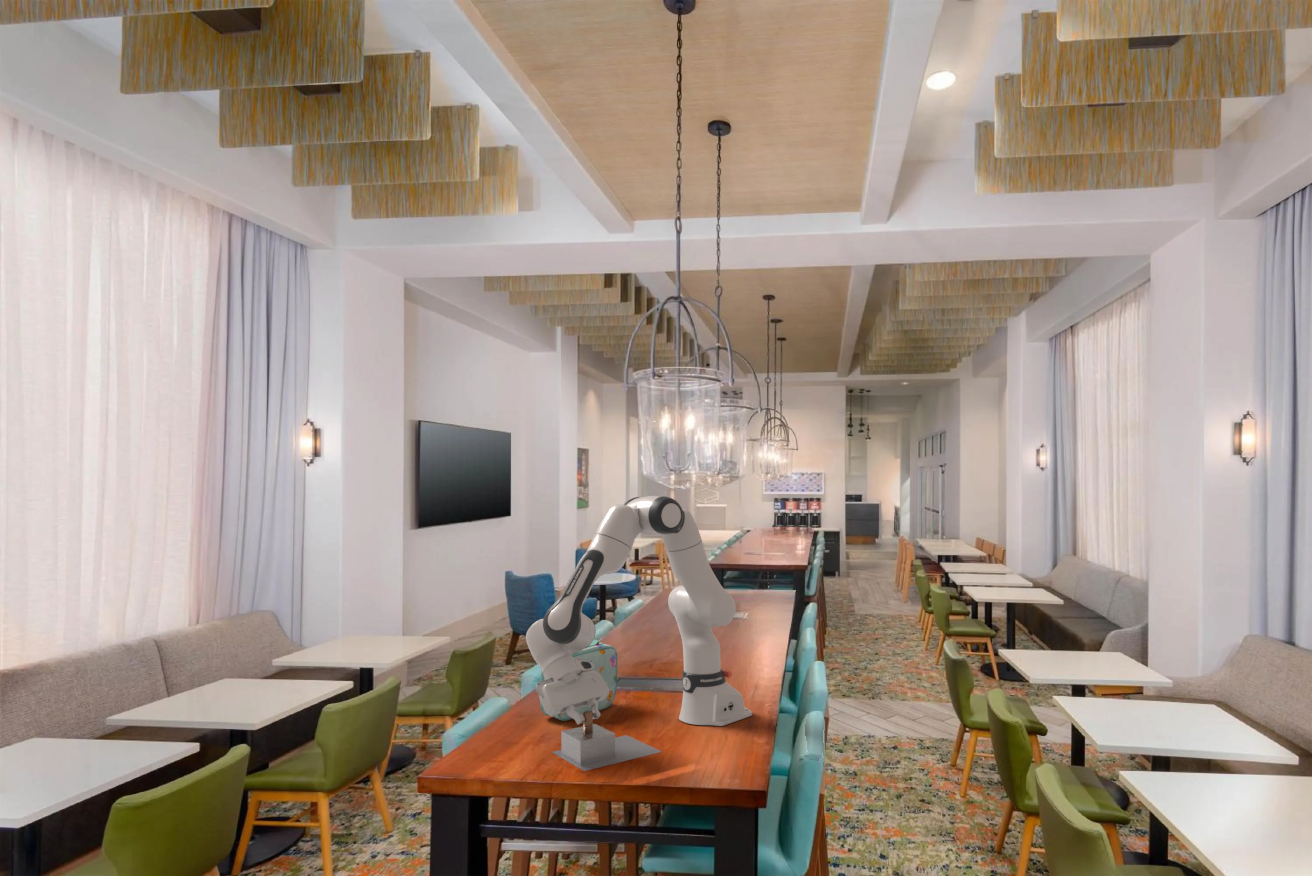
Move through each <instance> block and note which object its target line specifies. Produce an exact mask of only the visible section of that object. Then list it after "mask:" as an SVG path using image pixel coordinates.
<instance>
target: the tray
mask: <svg viewBox="0 0 1312 876" xmlns="http://www.w3.org/2000/svg"><path fill="white" fill-rule="evenodd" d="M662 752H663V751H661V750H659V749H657V748H655V747H653V746H651V745H650V744H649V745H648V744H646V743H645V742H642V741H640V740H638V739H636V738H634V737H632V736H629V735H626V734H625V735H621V736H615V758H612V759H607V760H603V761H599V762H595V763H591V764H587V765H583V766H580V765H578V764H576V763H575V762H573V761H571V760H569V759H568V758H566V757H564V756H563V755H562V754H561V749H560V750H554V751H551V753H553V754H554V755H556V756H557V757H559V758H561V759H562V760H565V761H566V762H568V763H569V764H571V765H573V766H574V767H576V768H578V769H579V770H582V771H583V772H586V771H591V770H595V769H599V768H602V767H607V766H610V765H615V764H619V763H622V762H628V761H630V760H631V761H632V760H635V759H639V758H643V757H647V756H651V755H655V754H660V753H662Z"/></svg>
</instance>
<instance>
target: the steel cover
mask: <svg viewBox="0 0 1312 876" xmlns="http://www.w3.org/2000/svg"><path fill="white" fill-rule="evenodd" d="M583 717H584V718H585V721H584V722H583V723H582V726H579V727H574V728H569V729H565V730H561V733H560V734H561V737H560V738H561V739H560V741H561V744H560V746H561V749H560V750H561V754H562V755H563V756H564V757H566V758H568V759H569V760H571V761H573V762H575V763H576V764H578V765H580V766H583V765H587V764H591V763H595V762H599V761H603V760H607V759H612V758H615V738H616V733H615V732H613V731H610V730H608V729H606V728H605V727H603V726H600V725H598V724H596V723H593V722H594V719H593V712H592V711H584V712H583Z"/></svg>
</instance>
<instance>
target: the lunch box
mask: <svg viewBox="0 0 1312 876" xmlns="http://www.w3.org/2000/svg"><path fill="white" fill-rule="evenodd" d="M572 657H573V659H576V660H580V661H588V662H592V663H593V665H594V669H593V670H595V671H597V672H598V673H599V674H600V675H601V677H602V678H603V680H604V681H605V683H606V685H607V686H608V688H609V694H608V695H607V697H606V698H605V699H604V700H602V701H599V702H598V710H599V711H601V710H602V711H603V710H605V709H608V708H609V707H610V706H612V704H613V703H614V700H615V698H616V694H617V687H618V686H617V685H618V651H617V649H616V648H615V647H614V646H612V645H610V644H605V643H604V642H600V641H599V640H597V639H594V640H593V641H592V643H591V644H590V645H589V646H588V647H586V648H584V649H583V650H581V651H579V652H577V653H575V654H573V655H572ZM540 669H541V668H540ZM540 672H541V673H540V676H541V677H540V681H544V680H546V679H545V677H544V675H543V673H542V669H541V671H540ZM539 706H540V709H541V712H542V713H543V715H545V716H548V717H550V716H549V715H548V714H546V712H545V710H544V708H543V706H542V703H541V701H540V700H539ZM575 711H576V712H577V713H579V714H582V715H583V712H584V711H592V707H591V708H590V707H589V706H588V705H586V706H583V707H579V708H576V709H575ZM552 717H553V718H555V719H557V720H559V721H569V720H572V719H573V718H571V717H570V716H568V715H567V713H566V712H563V713H560V714H556V715H553V716H552ZM573 720H574V719H573Z"/></svg>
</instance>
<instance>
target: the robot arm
mask: <svg viewBox="0 0 1312 876" xmlns="http://www.w3.org/2000/svg"><path fill="white" fill-rule="evenodd" d="M640 534H643V535H661V538H662V539H663V544H664V547H665V551H666V554H667V559H668V562H669V565H670V568H671V572H672V574H673V576H674V577H675V578H676V579H677V581H679V582H680V584H681V585H678V586H675V587H674V588H673V589H672V590H671V592H670V593H669V595H668V598H667V599H668V600H667V604H668V605H667V606H668V608H669V611H670V612H671V614H672V615H673V617H674V618H675V621H676V624H677V627H678V631H679V633H680V637H681V643H682V653H683V654H682V655H683V656H682V657H683V660H682V661H683V669H682V672H681V673H682V674H681V676H682V677H681V682H682V701H681V707H680V713H679V716H678V719H679V720H680V721H681V722H683V723H685V724H690V725H697V726H716V727H723V726H726V725H728V724H732V723H735V722H738V721H740V720H744V719H746V718H749V717H753V712H752V710H751V709H749V708H747V707H745V702H744V698H743V695H742V693H741V692H740V691H739V690H737V689H735V688H734V687H733V686H732V685H731V684H729V682H727V681H726V678H728V679H730V678H732V676H733V674H732V671H730V670H726V669H725V670H723V669H721V668H722V667H721V644H720V642H719V640H718V639H717V637H716V636H715V634H714V631H713V629H712V628H714V627H722V626H723V627H725V626H727V625H729V624H730V623H731V622H732V621H733V619H734V618H735V615H736V611H737V608H736V607H737V605H736V601H735V600H734V598H733V596H732V595H731V594H730V593H729V592H728V591H726V589H725V588H724V587H723V586H722V584H721V583H720V581H719V579H718V578H717V576H716V575H715V573H714V571H713V569H712V567H711V564H710V562H709V559H708V556H707V554H706V550H705V547H704V543H703V540H702V536H701V533H700V530H699V528H698V525H697V523H696V521H695V519H694V517H693V515H692V513H691V512H690V511H689V509H686V508H684V507H683V508H682V506H681V505H680V503H679V502H678V501H677V500H675V499H674V498H672V497H669V496H665V495H664V496H659V495H647V496H636V497H633V498H629V499H628V500H627V501H625V502H624V503H623V504H621V503H618V504H615V505H612V506H610V508H609V509H608V510H607V512H606V513H605V514H604V517H603V518H602V520H601V522H600V523H599V525H598V527H597V529H596V531H595V533H594V535H593V538H592V540H591V541H590V544H589V546H588V548H587V549H586V552H585V553H584V554H583V555H582V556H581V558H580V560H579V562H577V564H576V567H575V568H574V570H573V572H572V574H571V575H570V578H569V579H568V581H567V583H566V585H565V587H564V588H563V591H562V592H561V594H560V596H559V597H558V599H557V600H555V602H553V604H552V605H551V606H550V607H548V609H547V611H546V613H545V615H544V617H543V618H540V619H538V620H536V621H534V623H532V624H531V626H529V627H528V629H527V631H526V634H525V641H526V644H527V647H528V649H529V652H530V653H531V656H532V658H533V660H534V661H535V663H536V664H537V665H538V666H539V668H540V669H542V673H543V675H544V677H545V679H546V680H544V681H541V680H539V681H538V682H537V684H536V685H535V691H536V693H537V694H538V697H539V702H540V701H541V703H542V706H543V708H544V710H545V712H546V714H548V715H549V716H548V717H553V715H556V714H560V713H563V712H566V713H567V715H568V716H570V717H571V718H573V720H574V721H575V723H576V725H580V724H581V725H582V724H583V722H584V721H585V718H584V717H583V715H582V714H579V713H577V712H576V711H575V709H576V708H579V707H583V706H586V705H588V706H589V707H590V708H591V707H592V712H593V720H598V719H599V718H600V717H601V712H600V710H598V702H599V701H602V700H604V699H605V698H606V697H607V695H608V694H609V688H608V686H607V685H606V683H605V681H604V680H603V678H602V677H601V675H600V674H599V673H598V672H597V671H595V670H593V669H594V665H593V663H592V662H588V661H580V660H576V659H573V657H572V655H573V654H575V653H577V652H579V651H581V650H583V649H584V648H586V647H588V646H589V645H590V644H591V643H592V641H593V640H595V636H596V625H595V623H594V622H593V620H592V619H591V618H590V617H588V616H587V615H585V614H584V613H583V612H582V611H583V606H584V604H585V602H586V600H587V598H588V596H589V594H590V592H591V590H592V589H593V587H594V585H595V583H596V581H597V580H598V579H600V577H603V576H604V575H611V574H614V573H617V572H618V571H620V570H621V569H622V568H623V567H624V565H625V564H626V562H627V560H628V557H629V555H630V553H631V551H632V548H633V546H634V544H635V540H636V539H637V537H638V536H639V535H640Z"/></svg>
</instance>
